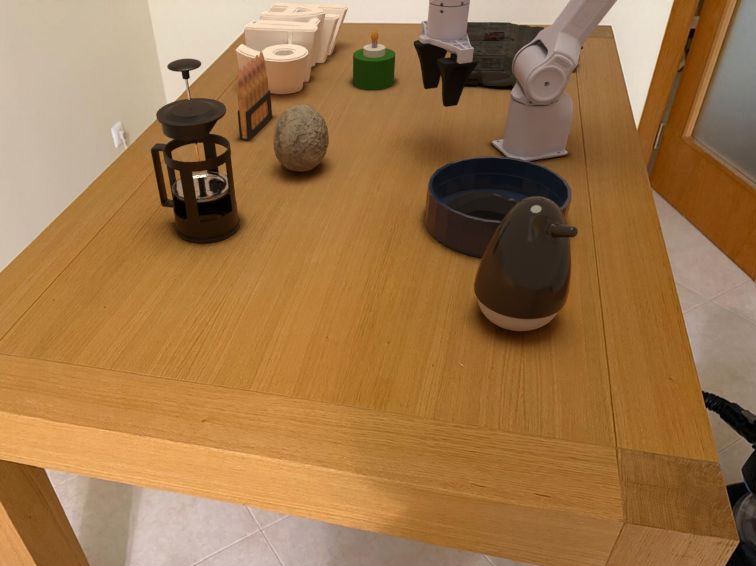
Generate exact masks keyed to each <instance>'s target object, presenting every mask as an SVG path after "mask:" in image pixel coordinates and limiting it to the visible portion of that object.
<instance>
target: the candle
mask: <svg viewBox="0 0 756 566" xmlns="http://www.w3.org/2000/svg"><path fill="white" fill-rule="evenodd" d="M370 39H371V43H369V44H365V45H364V46H363V48H360V49H357V50H354V52H353V55H352V85H353V86H354V87H355V88H358V89H360V90H365V91H366V90H367V91H379V90H386V89H388V88H390V87H393V85H394V84H395V70H396V69H395V68H396V52H395V51H394V50H393V49H390V48H387V47H386V45H384V44H381V43H378V40H379V32H378V30H376V29H373V30H372V32H371V34H370Z"/></svg>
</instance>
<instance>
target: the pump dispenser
mask: <svg viewBox="0 0 756 566" xmlns="http://www.w3.org/2000/svg"><path fill="white" fill-rule="evenodd" d="M578 232H579V230H578V227H576V226H572V225H568V224H567V220H566V221H565V218H564V216H563V213H562V211H561V210H560V208H559V207H558V205H557V204H556V203H555V202H553V201H552V200H550V199H548V198H545V197H541V196H532V197H527V198H524V199H522V200H520V201H519V202H517V203H516V204H515V205H514V206H513V207H512V208H511V209H510V210H509V211H508V212H507V213H506V215H505V216H504V217H503V219H502V220H501V221H500V223H499V224H498V226H497V228H496V229H495V231H494V233H493V234H492V236H491V238H490V240H489V242H488V244H487V246H486V248H485V250H484V253H483V255H482V258H480V261H479V264H478V266H477V270H476V273H475V277H474V283H473V292H474V294H475V297H476V300H477V304H478V307H479V309H480V311H481V312H482V314H483V315H484V316H485V318H486V319H487V320H488V321H490V322H491V323H493V324H494V325H496V326H497V327H499V328H502V329H504V330H509V331H515V332H529V331H534V330H537V329H540V328H542V327H544V326H546V325H547V324H549V323H550V322H551V321H552V320H553V319H554V318H555V317H556V316H557V314H558V313H559V312H560V311H561V310H562V309H563V308H564V307H565V305H566V304H567V303H568V299H569V295H570V290H571V282H572V280H571V279H572V249H571V248H572V247H571V239H570V238H575V237H577V235H578Z"/></svg>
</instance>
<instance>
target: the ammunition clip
mask: <svg viewBox="0 0 756 566" xmlns="http://www.w3.org/2000/svg"><path fill="white" fill-rule="evenodd" d="M237 101H238V102H237V104H238V110H237V121H238V132H239V140H242V141H251V140H252V139H253V138H254V137H255V136H256V135H257V134H258V133H259V132H260V131H261V130H262V129H263V128H264V127H265V126H266V125H267V124H268V123H269V122H270V120H272V119H273V108H272V98H271V93H270V90H268V77H267V73H266V66H265V59H264V56H263V53H262V52H260V55H259V57H258V55H256V58H255V60H254V59H253V58H252V60H251V64H250V62H248V63H247V68H246V66H245V65H244V66H243V70H241V69H240V68H239V69H238V73H237Z"/></svg>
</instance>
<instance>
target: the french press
mask: <svg viewBox="0 0 756 566" xmlns="http://www.w3.org/2000/svg"><path fill="white" fill-rule="evenodd" d="M201 66H202V62H201V60H199V59H196V58H180V59H176V60H172V61H171V62H169V63H168V64H167V65H166V68H167V70H169V71H171V72H176V73H181V77H182V78H181V79H182V80H184V82H185V87H186V89H185V90H186V96H187V98H183V99H179V100H176V101H175V100H174V101H172V102H169V103H166V104H165V105H163V106H161V107H160V108H159V109H158V110H157V111H156V114H155V117H156V120H157V122H158V123H160V124H161V130H162V133H163V135H164V136H165V137H167V138H169V139H171V140H170V141H168V142H167V143H160V142H157V143H155V144H154V145H153V146H152V147H151V149H150V154H151V159H152V164H153V169H154V174H155V179H156V185H157V190H158V195H159V200H160V206H161V207H163V208H172V209H173V210H172V211H173V215H174V221H175V225H174V230H175V233H176V234H177V236H178V237H179V238H181V239H182V240H184V241H187V242H190V243H193V244H194V243H195V244H209V243H210V244H212V243H217V242H220V241H223V240H226V239H228V238H230V237H232V236H233V235H235V233H237V232H238V230H239V229H240V227H241V219H240V215H239V211H238V203H237V197H236V190H235V189H236V188H235V181H234V171H233V164H232V149H231V143H230V141H229V140H228V138H226V137H224V136H222V135H221V134H220V135H219V134H216V133H211V132H212V130H214V127H215V126H216V124H217V122H218V121H219V120H221V119H222V118H223V117H225V115H226V114H227V107H226V105H225V104H224V103H223V102H221V101H219V100H216V99H212V98H206V97H192V98H191V91H190V85H189V84H190V83H189V79H190V78H191V76H190V71H194V70H197V69H199V68H200V67H201ZM198 144H203V145H202V147H203V153H204V160H200V153H199V147H198V146H199V145H198ZM188 145H194V149H195V157H196V161H183V160H176V159H173V154H172V152H173V151H175V150H176V149H178V148H179V149H180V148H181V147H185V146H188ZM216 145H219V146H222V147H223V148H225V149H226V150H224V152H222V153H221V154H219V155H217V147H216ZM160 152H162V155H163V160H164V164H165V165H166V171H167V175H168V181H169V186H170V193H171V198H172V199H170V198H168V193H167V187H166V182H165V176H164V172H163V166H162V161H161V155H160ZM224 164H225V172H226V173H225V174H224V173H221V172H220V171H219V167H220V166H223V165H224ZM176 171H178V173H179V177H180V178H178V179H177V177H176ZM205 213H218V214H222V216H220V217H218V218H213V219H209V220H201V219H200V214H205Z"/></svg>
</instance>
